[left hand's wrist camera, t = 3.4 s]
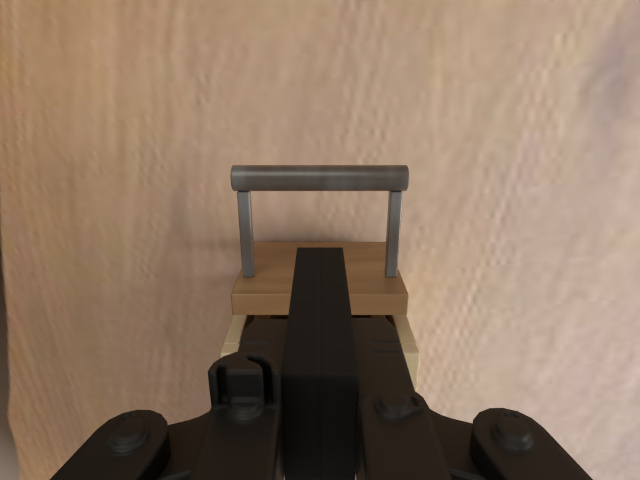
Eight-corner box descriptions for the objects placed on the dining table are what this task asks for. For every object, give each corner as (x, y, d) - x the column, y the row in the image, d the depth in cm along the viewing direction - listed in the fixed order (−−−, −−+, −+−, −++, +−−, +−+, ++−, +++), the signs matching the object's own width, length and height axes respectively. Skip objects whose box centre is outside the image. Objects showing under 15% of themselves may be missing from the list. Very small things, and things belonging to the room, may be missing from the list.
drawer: (246, 149, 26) (221, 175, 19) (393, 149, 26) (418, 174, 19) (263, 431, 34) (248, 521, 27) (376, 431, 34) (390, 521, 27)
